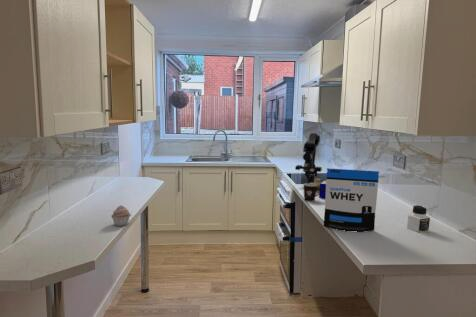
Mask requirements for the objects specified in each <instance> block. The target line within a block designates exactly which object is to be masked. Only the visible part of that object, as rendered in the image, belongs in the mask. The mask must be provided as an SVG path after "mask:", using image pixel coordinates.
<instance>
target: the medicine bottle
mask: <svg viewBox="0 0 476 317" xmlns="http://www.w3.org/2000/svg"><path fill="white" fill-rule="evenodd" d="M427 209H428V208H427V207H426V206H424V205H419V204H417V205H413V206H412V213H410V214H408V215H407V223H406V228H407V229H409V230H411V231H413V232H416V233H423V232H429V230H430V229H429V228H430V222H431V221H430V220H431V217H430V216H427V211H428V210H427Z"/></svg>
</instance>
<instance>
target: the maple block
mask: <svg viewBox="0 0 476 317" xmlns="http://www.w3.org/2000/svg"><path fill="white" fill-rule="evenodd" d="M321 180H322V178H317V177H315V178H314V184H316V185H320V183H321Z"/></svg>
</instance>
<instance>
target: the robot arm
mask: <svg viewBox="0 0 476 317" xmlns="http://www.w3.org/2000/svg"><path fill="white" fill-rule="evenodd" d="M320 142H321V136H320V134H319V135H318V133H317V132H316V133H315V132H311V133H310V134H309V135H308V140H307V141H305V143H304V144H303V150H302V152H304V154H303V155H302V160H304V162H303V164H302V165H301V164H297V165H296V166H295V167H294V168H295V171H300V170H302V172H304V175H305V177H306V182H305V184H306V183H314V179H315V178H316V177H318V172H319V173H320V172H322V171H323V168H322V166H316V161H315V160H316V154H317V147H318V146H319V145H320Z"/></svg>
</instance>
